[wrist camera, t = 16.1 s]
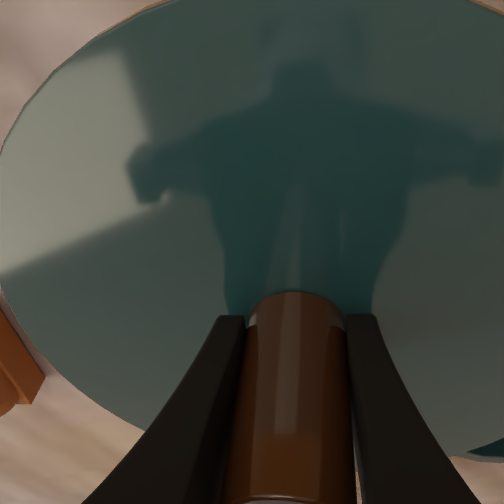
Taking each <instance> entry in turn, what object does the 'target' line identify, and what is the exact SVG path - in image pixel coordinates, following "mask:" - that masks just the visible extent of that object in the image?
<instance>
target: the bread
mask: <svg viewBox="0 0 504 504" xmlns="http://www.w3.org/2000/svg"><path fill="white" fill-rule="evenodd" d="M44 379H45V376H44V375H43V373H42V372H41V370H40V369H39V367H38V366H37V364H36V363H35V361H34V360H33V358H32V357H31V355H30V354H29V352H28V351H27V349H26V348H25V346H24V344H23V343H22V341H21V340H20V338H19V337H18V335H17V334H16V332H15V331H14V329H13V328H12V326H11V325H10V323H9V322H8V320H7V319H6V317H5V316H4V314H3V313H2V311H1V310H0V417H1V416H3V415H4V414H6V413H7V412H8V411H10V410H11V409H12V408H13V407H14V405H15V404H32V402H33V400H34V398H35V396H36V395H37V393H38V391H39V389H40V387H41V385H42V383H43V381H44Z"/></svg>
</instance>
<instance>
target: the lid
mask: <svg viewBox="0 0 504 504" xmlns="http://www.w3.org/2000/svg"><path fill="white" fill-rule="evenodd" d="M0 286H1V289H2V291H3V294H4V296H5V299H6V301H7V303H8V305H9V307H10V309H11V310H12V312H13V314H14V316H15V318H16V319H17V321H18V323H19V325H20V327H21V328H22V329H23V331H24V332H25V333H26V335H27V336H28V337H29V339H30V340H31V342H32V343H33V344H34V346H35V347H36V348H37V350H38V351H39V352H40V353H41V354H42V355H43V356H44V357H45V358H46V359H47V361H48V362H49V363H50V364H51V365H52V366H53V367H54V368H55V369H56V370H57V371H58V372H59V373H60V374H61V375H62V376H63V377H65V378H66V379H67V380H68V381H69V382H70V383H71V384H72V385H74V386H75V387H76V388H77V389H78V390H80V391H81V392H82V393H84V394H85V395H86V396H88V397H89V398H90V399H92V400H93V401H94V402H96V403H97V404H99V405H100V406H101V407H103V408H105V409H106V410H108V411H110V412H111V413H113V414H114V415H116V416H118V417H119V418H121V419H123V420H124V421H126V422H128V423H130V424H132V425H134V426H136V427H138V428H140V429H142V430H144V431H146V430H147V429H148V427H149V426H150V425H151V423H152V422H153V421H154V419H155V418H156V417H157V415H158V414H159V412H160V411H161V410H162V408H163V407H164V405H165V404H166V402H167V401H168V400H169V398H170V397H171V395H172V394H173V392H174V391H175V389H176V388H177V386H178V385H179V383H180V382H181V380H182V379H183V377H184V375H185V374H186V372H187V370H188V369H189V367H190V366H191V364H192V362H193V361H194V359H195V357H196V356H197V354H198V352H199V350H200V349H201V347H202V345H203V343H204V342H205V340H206V338H207V336H208V334H209V332H210V330H211V328H212V327H213V325H214V322H215V320H216V318H217V317H219V316H220V315H243V316H244V321H245V326H246V335H245V341H244V348H243V354H242V361H241V366H240V372H239V378H238V384H237V391H236V397H235V404H234V410H233V417H232V423H231V429H230V436H229V442H228V449H227V455H226V462H225V468H224V475H223V481H222V487H221V494H220V500H219V504H357V492H356V475H355V472H358V467H357V461H356V454H355V447H354V440H353V425H352V408H351V392H350V377H349V368H348V351H347V326H346V314H373V315H374V316H376V317H377V321H378V325H379V328H380V331H381V334H382V337H383V339H384V342H385V344H386V347H387V349H388V351H389V354H390V356H391V358H392V361H393V363H394V365H395V367H396V369H397V371H398V373H399V375H400V377H401V379H402V381H403V383H404V385H405V387H406V389H407V391H408V393H409V395H410V396H411V398H412V400H413V402H414V404H415V405H416V407H417V409H418V411H419V412H420V414H421V416H422V417H423V419H424V421H425V422H426V424H427V426H428V428H429V429H430V431H431V432H432V434H433V436H434V437H435V439H436V440H437V442H438V443H439V445H440V447H441V448H442V450H443V451H444V453H445V454H446V456H447V457H451V456H455V455H458V454H461V453H464V452H467V451H470V450H473V449H476V448H479V447H482V446H485V445H488V444H490V443H492V442H495V441H497V440H499V439H502V438H504V12H503V11H500V10H498V9H496V8H493V7H491V6H489V5H486V4H484V3H482V2H479V1H477V0H162V1H159V2H156V3H154V4H151V5H148V6H146V7H144V8H143V9H141V10H139V11H137V12H136V13H134V14H132V15H130V16H129V17H127V18H125V19H123V20H122V21H120V22H118V23H116V24H115V25H113V26H111V27H109V28H108V29H106V30H104V31H102V32H101V33H99V34H98V35H97V36H95V37H94V38H93V39H92V40H90V41H89V42H88V43H87V44H85V45H84V46H83V47H82V48H81V49H79V50H78V51H77V52H76V53H74V54H73V55H72V56H71V57H70V58H68V59H67V60H66V61H65V62H63V63H62V64H61V65H60V66H59V67H57V68H56V69H55V70H54V71H53V72H52V73H51V74H50V75H49V77H48V78H47V79H46V80H45V81H44V82H43V84H42V85H41V86H40V87H39V88H38V90H37V91H36V92H35V93H34V94H33V95H32V97H31V98H30V99H29V100H28V101H27V102H26V104H25V105H24V106H23V108H22V110H21V112H20V114H19V115H18V117H17V119H16V121H15V122H14V124H13V126H12V128H11V129H10V131H9V133H8V135H7V136H6V138H5V140H4V142H3V145H2V148H1V151H0Z"/></svg>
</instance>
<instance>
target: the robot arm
mask: <svg viewBox="0 0 504 504" xmlns="http://www.w3.org/2000/svg"><path fill="white" fill-rule="evenodd" d="M346 326H347V351H348V368H349V377H350V392H351V408H352V425H353V440H354V447H355V454H356V461H357V467H358V474H359V481H360V488H361V496H362V504H481V503H480V502H479V500H478V499H477V498H476V496H475V495H474V494H473V492H472V491H471V490H470V488H469V487H468V486H467V484H466V483H465V481H464V480H463V479H462V477H461V476H460V474H459V473H458V472H457V470H456V469H455V467H454V466H453V464H452V463H451V461H450V460H449V458H448V457H447V456H446V454H445V453H444V451H443V450H442V448H441V447H440V445H439V443H438V442H437V440H436V439H435V437H434V436H433V434H432V432H431V431H430V429H429V428H428V426H427V424H426V422H425V421H424V419H423V417H422V416H421V414H420V412H419V411H418V409H417V407H416V405H415V404H414V402H413V400H412V398H411V396H410V395H409V393H408V391H407V389H406V387H405V385H404V383H403V381H402V379H401V377H400V375H399V373H398V371H397V369H396V367H395V365H394V363H393V361H392V358H391V356H390V354H389V351H388V349H387V347H386V344H385V342H384V339H383V337H382V334H381V331H380V328H379V325H378V321H377V317H376V316H374V315H373V314H346ZM245 335H246V326H245V321H244V316H243V315H220V316H219V317H217V318H216V320H215V322H214V325H213V327H212V328H211V330H210V332H209V334H208V336H207V338H206V340H205V342H204V343H203V345H202V347H201V349H200V350H199V352H198V354H197V356H196V357H195V359H194V361H193V362H192V364H191V366H190V367H189V369H188V370H187V372H186V374H185V375H184V377H183V379H182V380H181V382H180V383H179V385H178V386H177V388H176V389H175V391H174V392H173V394H172V395H171V397H170V398H169V400H168V401H167V402H166V404H165V405H164V407H163V408H162V410H161V411H160V412H159V414H158V415H157V417H156V418H155V419H154V421H153V422H152V423H151V425H150V426H149V427H148V429H147V430H146V431H145V433H144V434H143V435H142V436H141V438H140V439H139V440H138V441H137V443H136V444H135V445H134V446H133V448H132V449H131V450H130V451H129V452H128V454H127V455H126V456H125V457H124V458H123V459H122V460H121V462H120V463H119V464H118V465H117V466H116V467H115V468H114V470H113V471H112V472H111V473H110V474H109V475H108V476H107V477H106V479H105V480H104V481H103V482H102V483H101V484H100V485H99V486H98V487H97V488H96V489H95V490H94V491H93V492H92V493H91V494H90V495H89V496H88V497H87V498H86V499H85V500H84V501H83V502H82V503H81V504H219V500H220V494H221V487H222V481H223V475H224V468H225V462H226V455H227V449H228V442H229V436H230V429H231V423H232V417H233V410H234V404H235V397H236V391H237V384H238V378H239V372H240V366H241V361H242V354H243V348H244V341H245Z"/></svg>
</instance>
